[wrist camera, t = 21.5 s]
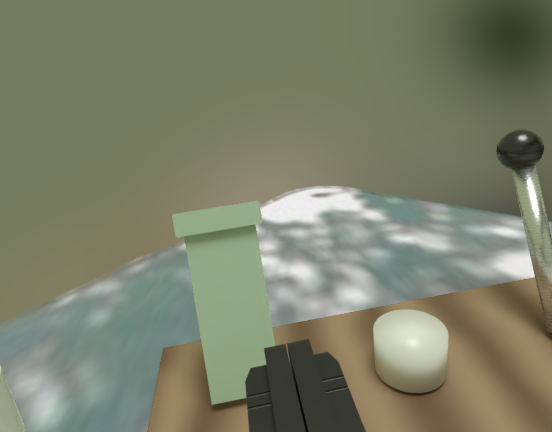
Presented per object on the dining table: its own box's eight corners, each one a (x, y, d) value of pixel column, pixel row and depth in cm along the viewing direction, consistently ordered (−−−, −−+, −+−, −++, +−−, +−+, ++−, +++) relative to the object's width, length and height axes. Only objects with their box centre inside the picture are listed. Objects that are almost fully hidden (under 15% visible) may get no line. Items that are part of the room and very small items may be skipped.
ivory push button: (425, 338, 32) (426, 304, 31) (461, 384, 27) (463, 346, 26) (365, 350, 31) (363, 316, 30) (390, 399, 27) (390, 361, 26)
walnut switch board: (557, 298, 39) (561, 272, 38) (763, 439, 25) (779, 402, 24) (170, 374, 36) (163, 348, 35) (138, 588, 21) (124, 554, 20)
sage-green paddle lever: (287, 380, 30) (257, 202, 30) (290, 391, 28) (258, 200, 28) (206, 397, 29) (176, 215, 29) (203, 409, 27) (172, 214, 27)
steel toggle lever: (562, 323, 32) (520, 132, 33) (596, 331, 29) (549, 120, 30) (525, 330, 32) (484, 138, 33) (556, 339, 29) (509, 126, 30)
